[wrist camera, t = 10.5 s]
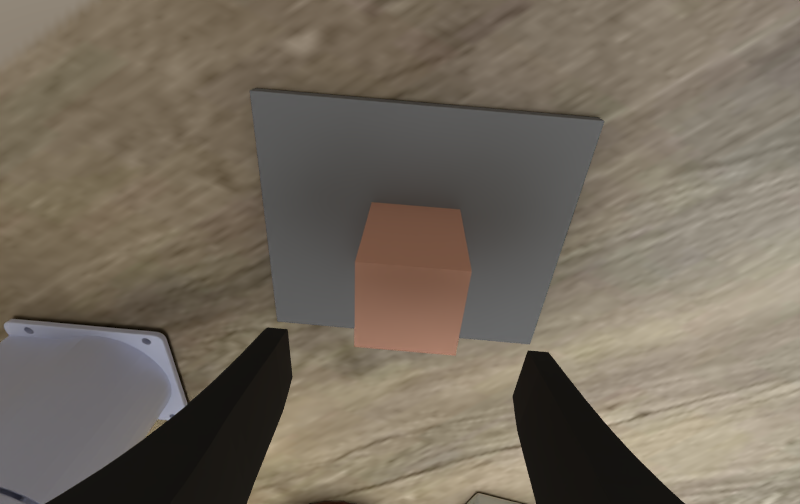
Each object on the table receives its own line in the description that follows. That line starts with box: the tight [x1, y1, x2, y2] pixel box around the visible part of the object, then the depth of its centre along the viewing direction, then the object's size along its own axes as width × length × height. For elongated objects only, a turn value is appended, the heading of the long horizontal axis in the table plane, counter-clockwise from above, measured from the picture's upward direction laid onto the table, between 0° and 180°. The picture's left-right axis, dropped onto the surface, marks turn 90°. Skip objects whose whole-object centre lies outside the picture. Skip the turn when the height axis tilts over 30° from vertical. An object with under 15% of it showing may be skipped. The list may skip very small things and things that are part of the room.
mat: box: [250, 88, 604, 344], centre depth 19 cm, size 14×12×1 cm
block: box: [354, 202, 472, 355], centre depth 17 cm, size 4×4×5 cm
